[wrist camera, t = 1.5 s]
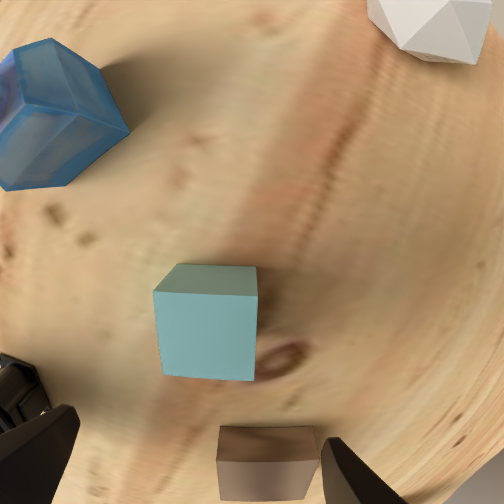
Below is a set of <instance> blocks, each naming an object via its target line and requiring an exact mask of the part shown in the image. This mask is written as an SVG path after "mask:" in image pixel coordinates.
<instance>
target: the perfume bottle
mask: <svg viewBox="0 0 504 504" xmlns="http://www.w3.org/2000/svg"><path fill="white" fill-rule="evenodd" d="M129 134H130V131H129V129H128V127H127V125H126V123H125V121H124V119H123V117H122V115H121V113H120V111H119V109H118V107H117V105H116V103H115V101H114V99H113V97H112V95H111V93H110V91H109V89H108V87H107V85H106V82H105V80H104V78H103V76H102V74H101V72H100V70H99V69H98V68H97V67H96V66H94V65H93V64H91V63H90V62H88V61H87V60H85V59H84V58H82V57H81V56H79V55H78V54H76V53H75V52H73V51H72V50H70V49H68V48H67V47H65V46H64V45H62V44H61V43H59V42H58V41H56V40H54V39H53V38H48V39H44V40H41V41H37V42H34V43H31V44H28V45H25V46H22V47H19V48H16V49H13V50H12V51H11V52H10V53H9V54H8V55H7V56H6V58H5V59H4V60H3V61H2V62H1V63H0V186H1V187H2V188H3V189H4V190H5V191H6V192H7V191H16V190H25V189H36V188H48V187H61V186H66V185H67V184H68V183H69V182H71V181H72V180H73V179H74V178H75V177H76V176H77V175H78V174H80V173H81V172H82V171H83V170H84V169H85V168H87V167H88V166H89V165H90V164H91V163H93V162H94V161H95V160H96V159H97V158H99V157H100V156H101V155H102V154H104V153H105V152H106V151H108V150H109V149H110V148H111V147H113V146H114V145H115V144H117V143H118V142H119V141H121V140H122V139H123V138H125V137H126V136H127V135H129Z"/></svg>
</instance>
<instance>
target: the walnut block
mask: <svg viewBox="0 0 504 504" xmlns="http://www.w3.org/2000/svg"><path fill="white" fill-rule="evenodd" d="M319 460H320V458H319V454H318V449H317V445H316V441H315V436H314V432H313V428H312V426H303V427H278V428H250V427H224V426H220V431H219V440H218V449H217V458H216V464H217V474H218V483H219V491H220V500H224V501H250V502H263V501H289V500H302V499H304V498H305V495H306V493H307V491H308V488H309V486H310V483H311V481H312V478H313V476H314V473H315V471H316V468H317V465H318V463H319Z"/></svg>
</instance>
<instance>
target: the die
mask: <svg viewBox="0 0 504 504" xmlns="http://www.w3.org/2000/svg"><path fill="white" fill-rule="evenodd" d="M492 8H493V3H492V2H491V1H489V0H367V13H368V19H370V20H371V21H372V22H373V23H374V24H375V25H376V26H377V27H378V28H379V29H380V30H382V31H383V32H384V33H385V34H386V35H387V36H388V37H389V38H390V39H391V40H392V41H393V42H394V43H395V44H396V45H397V46H398V47H399V49H401V50H403V51H405V52H407V53H409V54H411V55H413V56H415V57H417V58H419V59H421V60H423V61H429V62H447V63H459V64H469V65H476V64H477V61H478V58H479V55H480V52H481V49H482V45H483V42H484V39H485V35H486V32H487V28H488V24H489V20H490V16H491V12H492Z"/></svg>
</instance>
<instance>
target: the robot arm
mask: <svg viewBox="0 0 504 504" xmlns="http://www.w3.org/2000/svg"><path fill="white" fill-rule="evenodd" d="M0 365H1V368H0V504H51V503H52V500H53V498H54V495H55V492H56V490H57V487H58V485H59V482H60V480H61V477H62V475H63V473H64V470H65V468H66V466H67V463H68V461H69V459H70V456H71V453H72V450H73V447H74V443H75V440H76V437H77V434H78V431H79V428H80V419H79V417H78V415H77V412H76V410H75V408H74V407H73V406H71V405H69V404H62V405H60V406H58V407H56V408H54V409H52V407H51V405H50V403H49V401H48V398H47V396H46V394H45V392H44V389H43V387H42V385H41V382H40V380H39V377H38V375H37V372H36V370H35V368H34V367H33V366H31V365H29V364H26V363H23V362H21V361H18V360H15V359H13V358H10V357H8V356H5V355H3V354H0ZM43 411H44V412H46V413H44V414H42V415H40V414H41V413H42V412H43ZM321 464H322V477H323V489H324V496H325V500H326V504H408V503H407V502H406V501H405V500H404V499H403V498H401V497H400V496H399V495H398V494H397V493H396V492H395V491H394V490H393V489H391V488H390V487H389V486H388V485H387V484H386V483H385V482H384V481H383V480H382V479H381V478H380V477H379V476H378V475H377V474H376V473H374V472H373V471H372V470H371V469H370V468H369V467H368V466H367V465H366V464H365V463H364V462H363V461H362V460H361V459H360V458H359V457H358V456H357V455H356V454H355V453H354V452H353V451H352V450H351V449H350V448H349V447H348V446H347V445H346V444H345V443H344V442H343V441H342V440H341V439H340V438H339V437H329V438H327V439H326V440H325V443H324V446H323V448H322V451H321Z"/></svg>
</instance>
